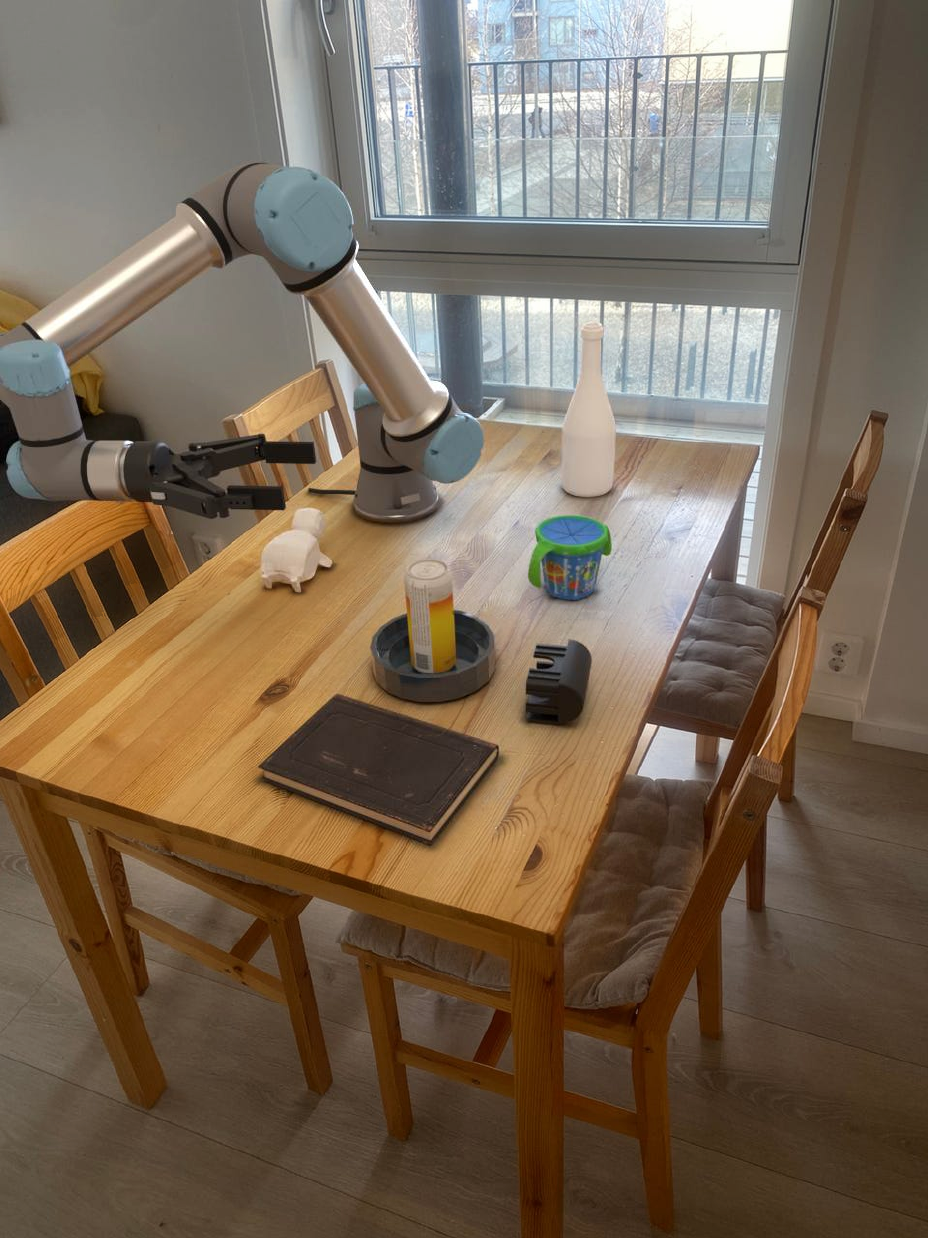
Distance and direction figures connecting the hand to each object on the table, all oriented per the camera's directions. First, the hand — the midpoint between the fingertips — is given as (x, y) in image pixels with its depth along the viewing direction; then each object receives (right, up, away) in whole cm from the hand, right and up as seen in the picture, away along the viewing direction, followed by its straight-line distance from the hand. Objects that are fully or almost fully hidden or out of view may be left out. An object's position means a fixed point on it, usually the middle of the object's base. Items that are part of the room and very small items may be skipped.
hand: (300, 474), depth 115 cm
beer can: (+16, -24, +13) cm, 31 cm away
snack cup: (+36, -13, +29) cm, 48 cm away
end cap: (+32, -28, +5) cm, 43 cm away
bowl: (+16, -24, +13) cm, 32 cm away
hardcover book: (+10, -35, -4) cm, 37 cm away
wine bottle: (+43, +7, +60) cm, 74 cm away
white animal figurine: (-6, -10, +37) cm, 39 cm away
